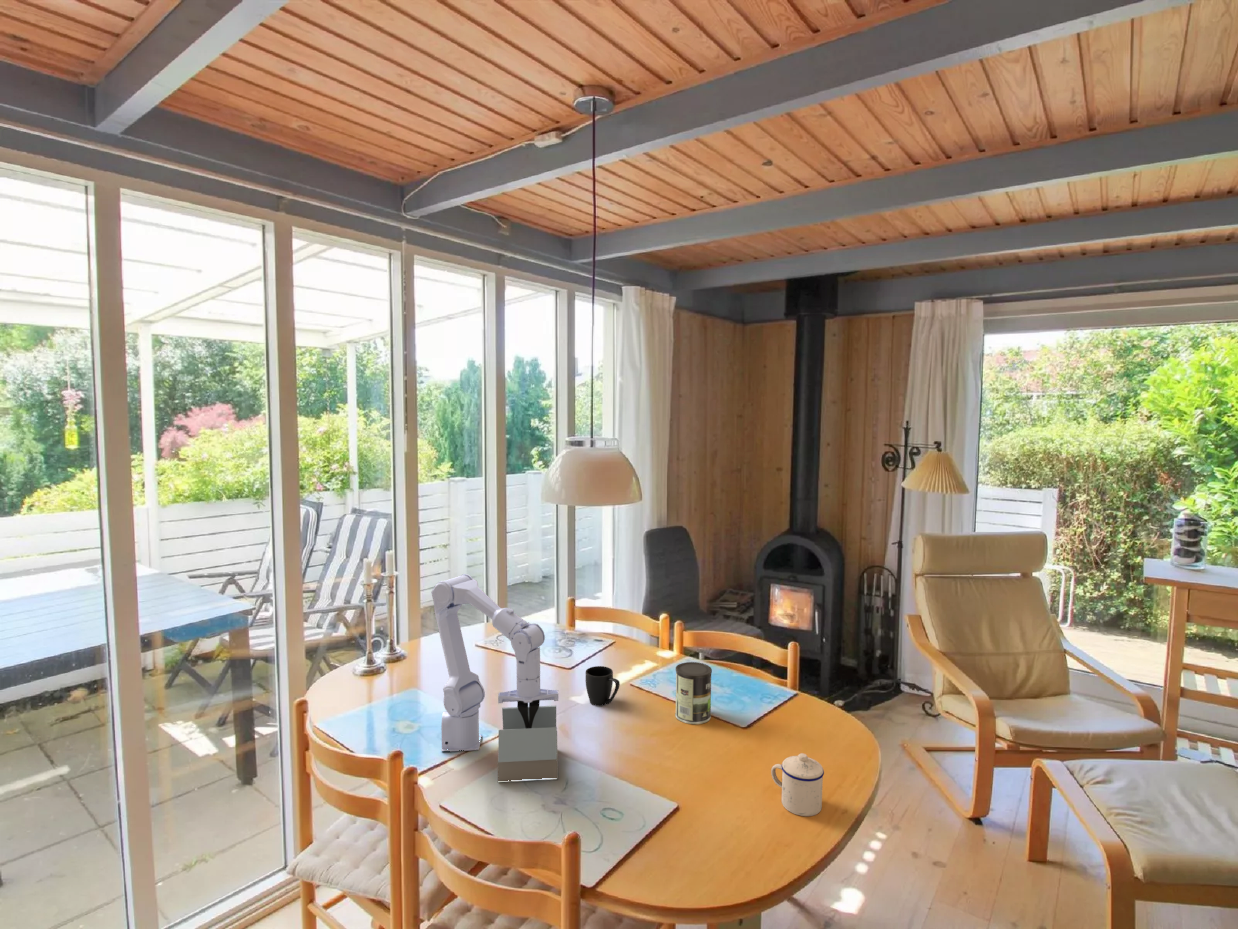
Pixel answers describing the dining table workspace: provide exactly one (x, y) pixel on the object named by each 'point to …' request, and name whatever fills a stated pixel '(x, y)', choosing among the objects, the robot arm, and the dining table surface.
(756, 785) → the dining table surface
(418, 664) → the dining table surface
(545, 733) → the near flap
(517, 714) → the far flap
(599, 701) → the mug
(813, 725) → the dining table surface
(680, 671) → the coffee can
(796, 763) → the teacup with lid
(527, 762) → the carton
